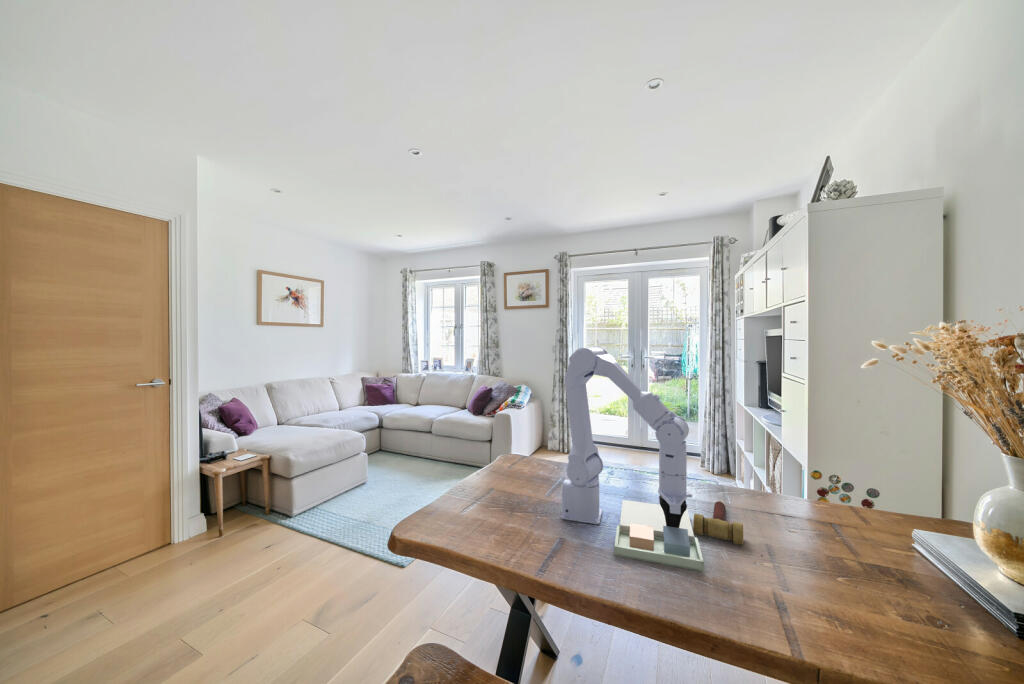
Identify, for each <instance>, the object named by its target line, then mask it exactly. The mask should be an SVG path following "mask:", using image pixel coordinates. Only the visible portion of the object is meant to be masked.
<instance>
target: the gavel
mask: <svg viewBox="0 0 1024 684" xmlns="http://www.w3.org/2000/svg"><path fill="white" fill-rule="evenodd" d="M725 516H726V505H725V504H724V503H723V502H722V501H720V500H719V501H715V502H714V505H713V514H712V518H711V517H708V518H707V517H705V516H704V514H700V513H694V514H693V521H692V523H693V524H692V525H693V526H692V530H693V534H694V535H696V536H701V537H704V535H706V536H707V537H711V538H716V539H719V540H722V541H723V540H724V541H732V543H733V544H734V543H735V545H738V544H739V546H743V545H744V524H743V523H741V522H737V521H732V523H731V522H728V521H726V520H725V519H726V518H725Z"/></svg>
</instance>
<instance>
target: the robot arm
mask: <svg viewBox="0 0 1024 684" xmlns="http://www.w3.org/2000/svg"><path fill="white" fill-rule="evenodd" d="M568 360H569V361H568V362H569V364H568V366H567V369H566V372H565V375H564V386H565V387H564V388H565V394H566V395H565V396H566V404H567V410H568V411H567V412H568V420H569V427H570V435H571V436H570V437H571V438H570V439H571V444H572V446H571V448H570V451H569V452H568V455H567V459H568V462H567V463H568V464H567V466H566V474H567V475H566V476H567V477H568V478H566V479H563V483H562V487H561V489H562V491H561V493H562V494H561V513H562V514H561V520H567V521H575V522H580V523H585V524H593V525H600V523H601V517H602V513H603V509H602V508H600V477H599V476H600V474H601V473H602V472H603V468H604V462H603V460H602V458H601V456H600V453H599V449H598V447H597V446H596V445H595V443H594V441H593V431H592V424H591V416H590V414H591V413H590V409H589V408H590V407H589V398H588V392H587V390H588V389H587V383H588V382H589V381H590V379H591V378H592V377H593V376H594V375H595V376H600V377H606V378H608V379H609V380H610V381H612V383H614V385H616V387H618V388H619V389H620V390H621V392H623V393H624V394H625V395H626V396H627V397H628V398H629V399H630V400H632V409H633V410H634V411H635V412H636V413H637V414H638V415H639V416H640V417H641V418H642V419H643V421H645V422H646V424H647V425H648V426H650V428H651V429H652V430H654V431H655V433H654V434H655V437H656V440H657V442H659V450H658V488H657V493H658V494H659V495H658V500H659V505H661V507H662V509H663V512H664V515H665V520H666V526H669V527H676V528H679V526H680V522H681V518H682V515H683V513H684V512H685V511H686V509H687V510H688V504H687V500H686V499H688V498H693V492H692V490H687V474H688V473H687V470H688V468H687V466H688V465H687V462H688V461H687V458H688V457H687V455H688V453H687V441H686V439H687V438H688V436H689V433H690V428H689V425H688V423H687V422H686V420H685V419H684V418H683V417H682V416H679V415H677V413H676V412H675V411H674V410H673V411H671V410H670V409H669V408H668V407H667V406H666V405H665V404H664V403H663V402H662V401H661V399H662V398H661V396H660V395H659V394H654V393H653V392H652V391H644V390H643V389H642V388H641V387H640V386H639V385H638V383H637V382H636V381H635V380H634V379H633V378H632V377H631V375H629V374H628V373H627V371H626V370H625V369H624V368H623V367H622V366H621V365H620V364H619V363H618V362H617V360H616V359H615V357H614V356H613V355H612V354H610V353H609V352H608V351H607V350H606V349H605V348H604V347H602V346H593V347H580V348H578V349H576V350H575V351H574V352H573V353H572V354H571V355H570V356H569V358H568Z"/></svg>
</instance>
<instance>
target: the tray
mask: <svg viewBox="0 0 1024 684" xmlns="http://www.w3.org/2000/svg"><path fill="white" fill-rule="evenodd" d="M615 532H616V533H615V539H614V556H616V557H621V558H627V559H631V560H637V561H638V560H639V561H643V562H647V563H648V562H649V563H653V564H654V563H655V564H660V565H665V566H668V567H669V566H670V567H675V568H682V569H686V570H692V571H697V572H702V573H703V572H705V561H704V558H703V554H702V550H701V546H700V542H699V538H698V537H695V536H694V542H690V556H684V555H678V554H672V553H666V552H664V542H663V537H657V536H654V551H651V550H645V549H639V548H633V547H630V532H626V531H620V524H619V525H616V531H615Z"/></svg>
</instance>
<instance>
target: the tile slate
mask: <svg viewBox="0 0 1024 684" xmlns="http://www.w3.org/2000/svg"><path fill="white" fill-rule="evenodd" d="M663 542H664V552H666V553H672V554H678V555H684V556H690V542H689V536H688V530H687V529H682V528H676V527H669V526H663Z"/></svg>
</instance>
